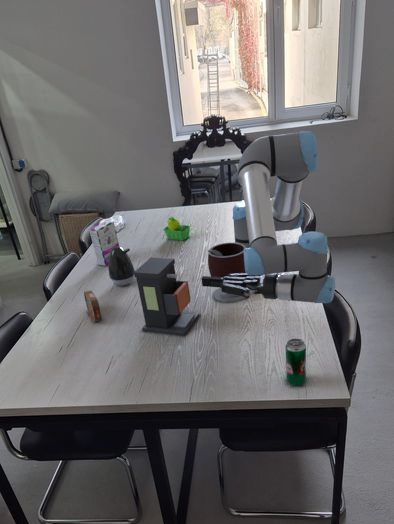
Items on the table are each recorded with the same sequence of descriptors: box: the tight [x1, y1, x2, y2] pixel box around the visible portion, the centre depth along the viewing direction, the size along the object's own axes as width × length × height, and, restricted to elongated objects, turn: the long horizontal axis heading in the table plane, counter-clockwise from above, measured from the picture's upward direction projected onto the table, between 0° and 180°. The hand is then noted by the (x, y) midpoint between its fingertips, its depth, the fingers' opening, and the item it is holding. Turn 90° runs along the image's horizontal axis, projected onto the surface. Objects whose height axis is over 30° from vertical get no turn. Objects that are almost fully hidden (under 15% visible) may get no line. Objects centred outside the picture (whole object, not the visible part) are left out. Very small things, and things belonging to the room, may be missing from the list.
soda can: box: [285, 337, 307, 387], centre depth 124 cm, size 5×5×12 cm
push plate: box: [174, 283, 191, 314], centre depth 154 cm, size 1×8×7 cm, turn 157°
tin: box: [83, 290, 102, 323], centre depth 171 cm, size 15×3×8 cm, turn 23°
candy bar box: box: [88, 221, 120, 267], centre depth 211 cm, size 11×5×16 cm, turn 148°
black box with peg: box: [134, 257, 200, 336], centre depth 156 cm, size 15×13×21 cm
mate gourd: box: [207, 242, 246, 304], centre depth 168 cm, size 16×14×20 cm
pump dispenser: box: [107, 246, 136, 287], centre depth 190 cm, size 10×10×15 cm
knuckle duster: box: [98, 215, 127, 233], centre depth 254 cm, size 3×18×15 cm
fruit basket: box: [162, 216, 191, 242], centre depth 227 cm, size 11×9×11 cm
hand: (202, 281), depth 148 cm, fingers closed
